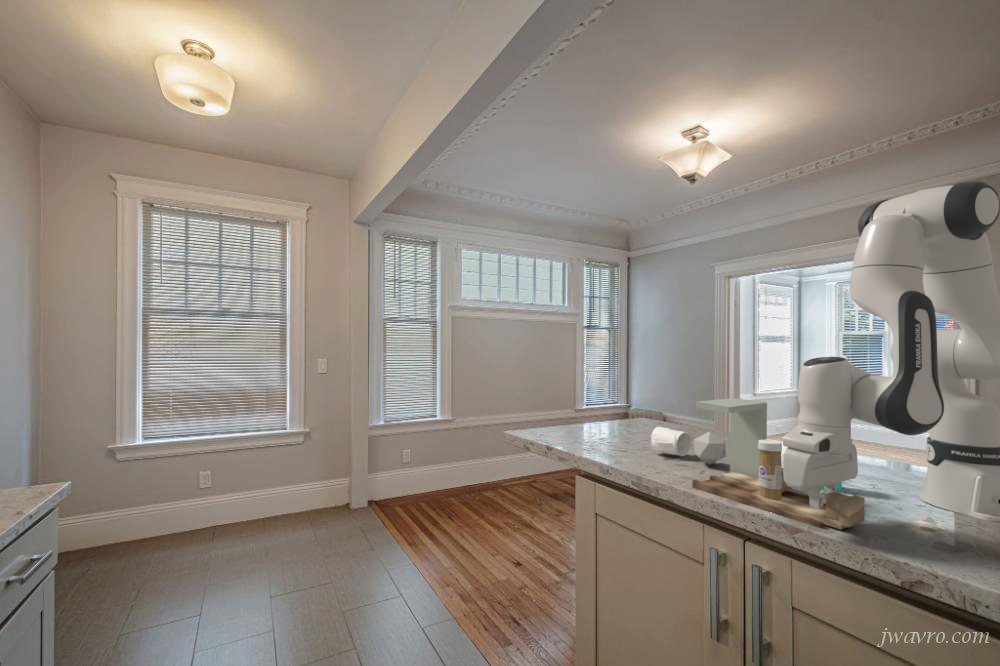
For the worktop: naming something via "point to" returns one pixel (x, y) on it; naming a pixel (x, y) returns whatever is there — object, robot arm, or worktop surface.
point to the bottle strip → (837, 512)
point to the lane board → (742, 495)
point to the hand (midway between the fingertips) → (821, 505)
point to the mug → (671, 441)
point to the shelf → (742, 431)
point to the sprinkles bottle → (770, 469)
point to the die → (709, 448)
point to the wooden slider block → (750, 480)
